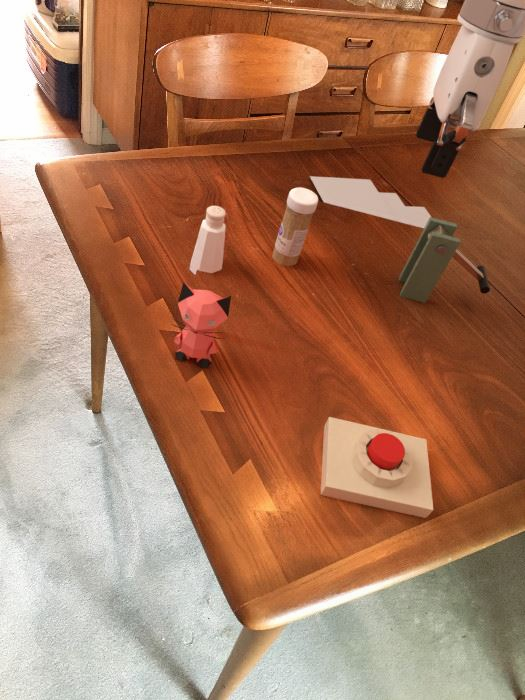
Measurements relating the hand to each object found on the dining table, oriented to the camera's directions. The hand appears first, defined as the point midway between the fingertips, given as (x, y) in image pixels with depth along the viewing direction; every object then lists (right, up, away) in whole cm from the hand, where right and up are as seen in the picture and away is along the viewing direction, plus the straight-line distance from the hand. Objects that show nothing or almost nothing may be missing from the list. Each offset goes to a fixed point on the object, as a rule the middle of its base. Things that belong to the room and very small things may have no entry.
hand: (429, 156), depth 74 cm
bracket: (+3, -17, +20) cm, 26 cm away
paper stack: (+1, 0, +35) cm, 35 cm away
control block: (-9, -41, -5) cm, 42 cm away
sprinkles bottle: (-19, -12, +19) cm, 29 cm away
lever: (+8, -12, +14) cm, 20 cm away
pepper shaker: (-31, -13, +14) cm, 37 cm away
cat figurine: (-31, -26, +2) cm, 41 cm away
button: (-8, -38, -8) cm, 40 cm away
